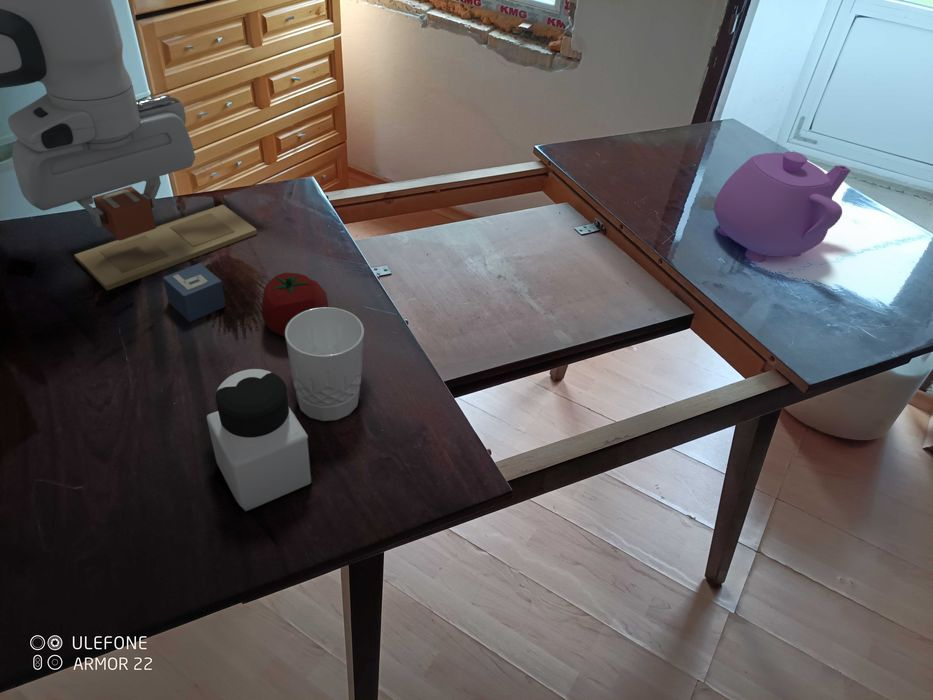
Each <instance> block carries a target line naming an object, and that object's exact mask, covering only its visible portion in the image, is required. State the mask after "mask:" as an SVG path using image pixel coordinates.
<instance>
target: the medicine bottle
mask: <svg viewBox="0 0 933 700" xmlns="http://www.w3.org/2000/svg"><path fill="white" fill-rule="evenodd" d="M288 396H289V395H288V389H287V384H286V382H285V381H284V380H283V379H282V377H281V376H279V375H278V374H276V373H274V372H272V371H270V370H266V369H261V368H249V369H244V370H240V371H238V372H235V373H232V374H231V375H229V376H228V377H227V378H225V379H224V380H223V381H222V382H221V383H220V384H219V386H218V387H217V390H216V392H215V402H216V403H215V404H216V407H217V411H213V412H211V413H209V414H207V415H206V421H207V426H208V431H209V435H210V439H211V444H212V449H213V453H214V458H215V461H216V464H217V467H218V468H219V470H220V472H221V475H222V477H223V478H224V481H225V482H226V484H227V486H228V488H229V491H230V492H231V494H232V496H233V498H234V500H235V502H236V503H237V504H238V505H239V506H240V508H242V510H244V512H248V511H251V510H253V509H256V508H258V507H260V506H262V505H265V504H267V503H269V502H272V501H274V500H276V499H278V498H281V497H283V496H285V495H288V494H291V493H292V492H295V491H297V490H299V489H301V488H304V487H307V486H308V485H310V484H311V483H312V481H313V479H312V467H311V455H310V443H309V435H308V433H307V432H306V431H305V429H304V428H303V426H302V424H301V423H300V421H299V420H298V419H297V416H296V415H295V413H294V412H293V411H292V409H291V408H290V405H289V399H288V398H289V397H288Z"/></svg>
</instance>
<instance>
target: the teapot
mask: <svg viewBox="0 0 933 700" xmlns="http://www.w3.org/2000/svg"><path fill="white" fill-rule="evenodd" d="M851 171H852V169H850V168H849V167H847V166H845V165H838V164H837V165H834V167H832V168H831V169H830V170H829V171H828V172H826V173H825V171H823V170H822V169H821V168H820V167H818V166H817V165H815V164H814V163H811V162H810V161H808V157H806V156H805V155H804V154H802V153H800V152H796V151H785V152H767V153H759V154H756V155H753V156H751V157H749V158H748V160H746V161H745V162H744V163H743V164H742V165H740V166H739V168H737V169H736V170H735V171H734V172H733V173H732V174H731V176H729V177H728V179H727V180H726V181H725V183H724V184H723V185H722V187H721V188H720V190H719V191H718V193H717V195H716V198H715V200H714V202H713V211H714V216H715V218H716V221H717V224H718V225H719V227H718V228H717V233H718V234H719V235H721V236H723V237H725V238H730V239H732V240H733V241H734V242H735V243H737V244H739V245H740V246H742V247H744V248H745V249H746V251H745V252H744V256H745V258H746V259H748V260H749V261H752V262H754V263H755V262H756V263H762V262H765V258H766V256H769V257H795V258H796V257H800V256H801V255H802V254H803V253H806V252H808V251H810V250H812V249H813V248H815V247H817V246H818V245H820V244H821V243H822V242H824V240H825V238H826V236H827V234H828V231H829V230H830V229H831V228H833V226H835V225H836V224H837V223H838V221H839V220H840V219H841V217H842V215H843V208H842V206H841V205H840V204H839V203H838V202H837V201H835V200H833V197H834V195H835V194H836V192H837V191H838V190H839V188H840V187H841V186H842V184H843V183H844V181H845V179H846V178H847V176H848V175H849V174H850V172H851Z"/></svg>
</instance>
